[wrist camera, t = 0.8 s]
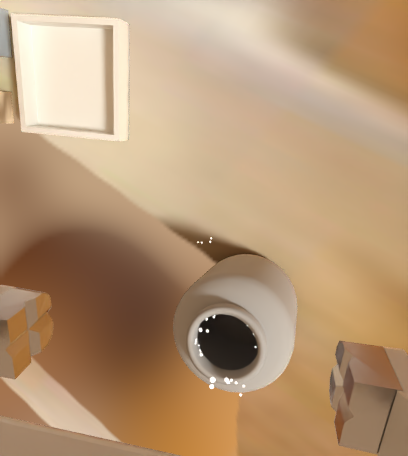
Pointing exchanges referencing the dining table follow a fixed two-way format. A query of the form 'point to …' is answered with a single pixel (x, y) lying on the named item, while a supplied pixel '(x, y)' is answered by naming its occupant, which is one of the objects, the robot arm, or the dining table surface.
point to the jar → (238, 324)
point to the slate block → (5, 34)
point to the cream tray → (72, 75)
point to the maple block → (6, 108)
